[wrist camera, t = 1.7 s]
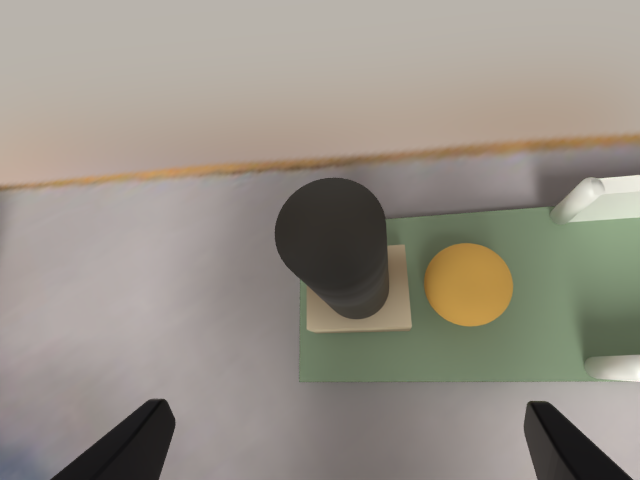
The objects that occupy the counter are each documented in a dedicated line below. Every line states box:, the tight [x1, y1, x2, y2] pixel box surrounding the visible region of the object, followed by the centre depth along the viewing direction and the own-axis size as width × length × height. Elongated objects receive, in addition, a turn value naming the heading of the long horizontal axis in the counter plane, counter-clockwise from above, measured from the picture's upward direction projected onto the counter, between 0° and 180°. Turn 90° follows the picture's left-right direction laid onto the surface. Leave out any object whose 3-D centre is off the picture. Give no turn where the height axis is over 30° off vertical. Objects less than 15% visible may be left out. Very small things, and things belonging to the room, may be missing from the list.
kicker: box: [275, 178, 412, 333], centre depth 15 cm, size 4×5×11 cm
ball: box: [424, 243, 513, 326], centre depth 18 cm, size 4×4×4 cm
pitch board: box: [299, 206, 640, 382], centre depth 20 cm, size 9×22×1 cm, turn 90°
